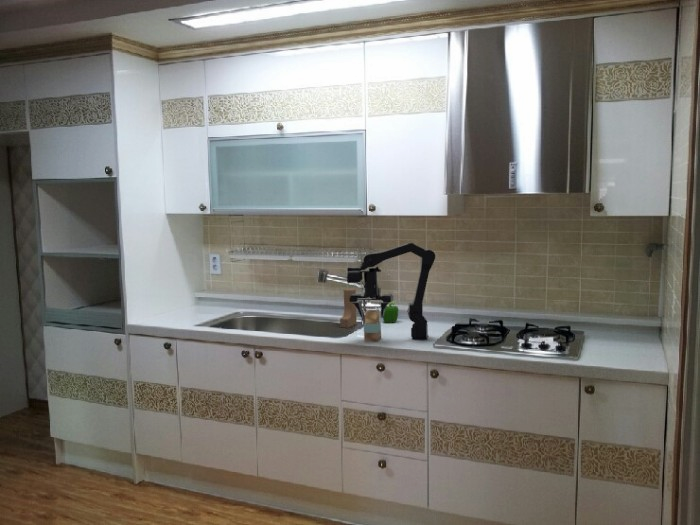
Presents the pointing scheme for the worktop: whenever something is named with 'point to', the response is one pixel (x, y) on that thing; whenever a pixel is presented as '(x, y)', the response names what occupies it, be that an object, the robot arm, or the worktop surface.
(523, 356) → the worktop surface
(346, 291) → the wooden block
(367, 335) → the base block
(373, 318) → the oak cube
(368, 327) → the top block
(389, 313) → the bell pepper
